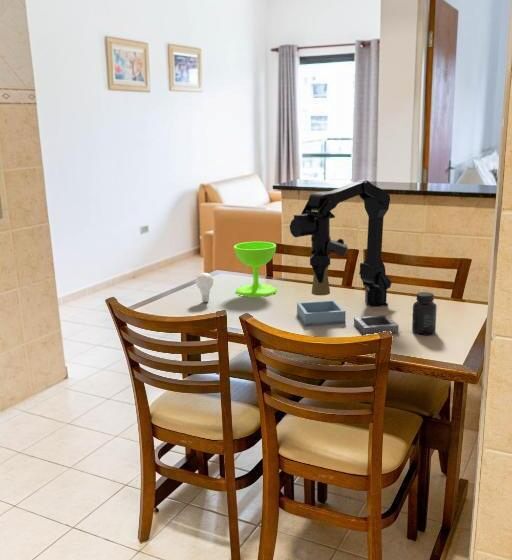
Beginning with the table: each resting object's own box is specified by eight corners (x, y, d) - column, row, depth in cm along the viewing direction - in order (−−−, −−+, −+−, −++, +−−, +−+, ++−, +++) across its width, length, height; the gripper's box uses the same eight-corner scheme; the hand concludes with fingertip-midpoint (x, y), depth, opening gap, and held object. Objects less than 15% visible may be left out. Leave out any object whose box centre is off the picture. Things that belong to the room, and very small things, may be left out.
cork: (333, 294, 197) (333, 260, 194) (316, 296, 195) (315, 262, 192) (325, 289, 202) (325, 257, 200) (308, 291, 201) (308, 258, 198)
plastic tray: (334, 311, 208) (334, 300, 207) (345, 323, 195) (345, 311, 194) (297, 314, 206) (296, 302, 205) (305, 326, 194) (305, 313, 193)
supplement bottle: (408, 329, 188) (410, 291, 185) (430, 328, 189) (432, 290, 186) (416, 336, 181) (417, 297, 179) (438, 335, 182) (440, 296, 179)
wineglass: (277, 296, 227) (276, 249, 223) (234, 297, 228) (232, 250, 223) (276, 286, 243) (275, 241, 239) (236, 286, 243) (234, 242, 239)
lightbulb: (193, 303, 222) (192, 274, 219) (201, 299, 227) (200, 270, 225) (209, 305, 219) (208, 275, 217) (217, 300, 225) (216, 271, 222)
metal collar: (386, 322, 195) (386, 315, 194) (398, 333, 185) (398, 325, 184) (353, 324, 194) (354, 317, 193) (364, 335, 183) (364, 327, 183)
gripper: (346, 238, 184) (346, 288, 188) (345, 228, 202) (345, 274, 206) (309, 238, 185) (310, 288, 189) (311, 228, 203) (312, 274, 207)
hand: (320, 280), depth 198 cm, fingers closed on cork, 4 cm apart
